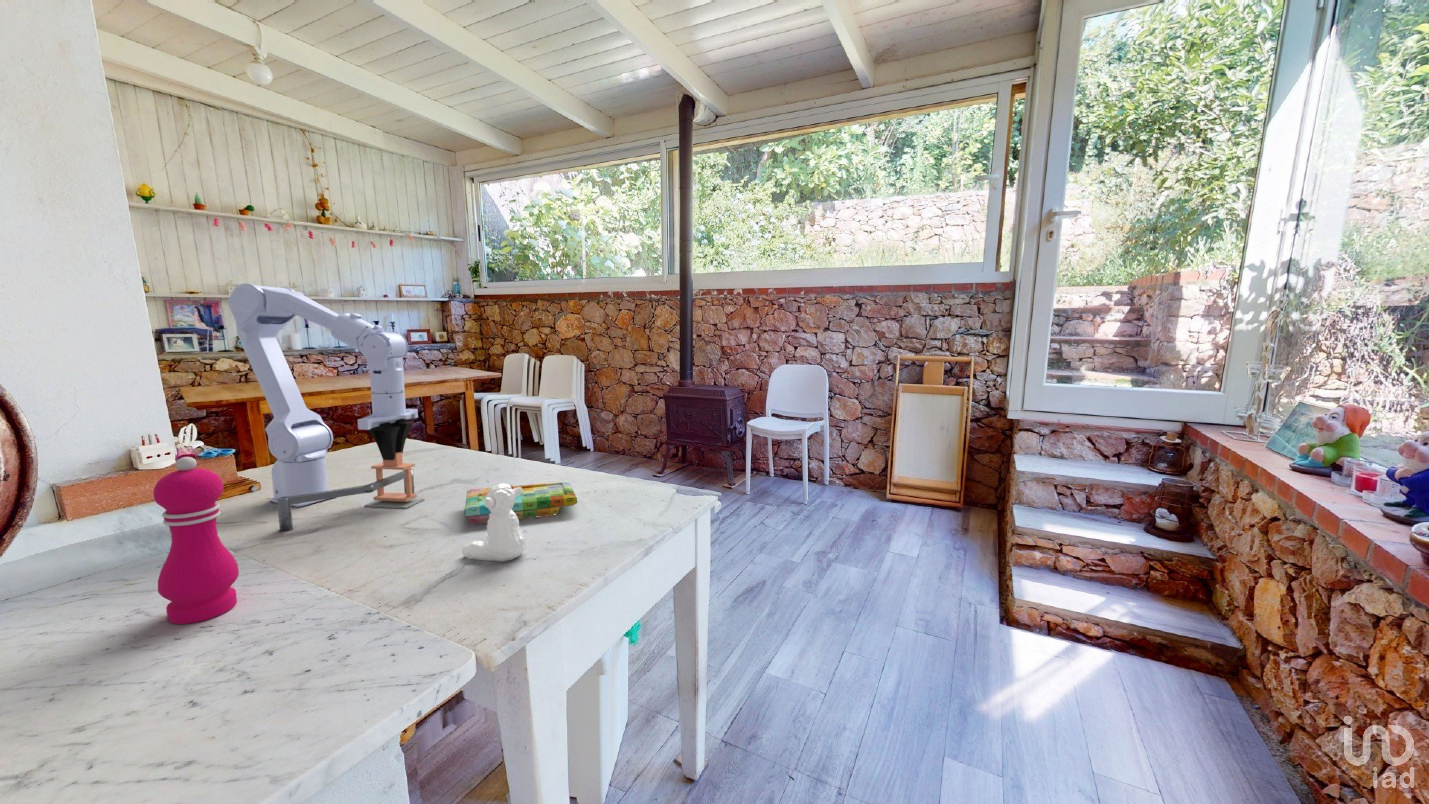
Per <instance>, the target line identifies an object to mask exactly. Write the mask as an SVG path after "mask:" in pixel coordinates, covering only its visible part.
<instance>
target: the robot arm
mask: <svg viewBox="0 0 1429 804" xmlns="http://www.w3.org/2000/svg"><path fill="white" fill-rule="evenodd" d="M226 303H227V304H228V307H229V309H230V311H231V314H232V316H233V319H234V321H235V325H236V334H237V337H238V339H239V341H240V344H241V346H242V348H243V350H244V353H245V355H246V357H247V360H248V362H249V365H250V366H251V369H252V370H253V373H254V375H255V377H256V379H257V382H258V384H259V387H260V388H261V391H262V393H263V395H264V396H263V397H264V398H265V400H266V402H267V404H268V408H269V409H270V411H271V413H272V416H273V418H272V420H271V421H270V422H269V423H268V425H267V426H265V429H264V430H265V433H266V435H267V439H268V440H267V444H268V450H269V452H270V453H271V455H272V456H273V457H274V458H276V461H275V462H274V464H273V465H272V467H271V479H272V489H273V490H272V491H273V493H272V494H273V497H271V498H269V499H268V502H271V501H272V502H273V503H276V504H277V498H280V497H289V496H296V495H303V494H309V493H316V492H323V491H329V488H328V486H329V485H328V475H327V464H326V463H327V460H326V455H328V449H330V448H331V446H332V445H333V441H334V435H333V434H334V433H333V431H332V430H331V428H330V427H329V426H328V425H327V424H325V422H324V421H323V419H322V416H321V415H320V414H318V413H317V412H314V411H313V410H311V409H308V408H307V405H306V404H305V401H304V399H303V396H302V394H301V391H300V389H299V387H298V385H297V383H296V381H295V378H294V376H293V373H292V371H291V369H290V367H289V364H288V362H287V360H286V357H285V355H284V353H283V351H282V348H281V346H280V343H279V341H278V339H277V336H278V334H279V333H280V331H282V330H283V329H285V327H286V326H287V325H289V323H291V321H293V320H294V319H295V318H296V317H299V318H302V319H304V320H306V321H309V322H312V323H314V324H316V325H318V326H320V327H323V328H325V329H328V330H329V331H330V335H331V337H332V338H334V339H335V340H337V341H339V342H341V343H343V344H345V345H346V346H349V347H351V348H354V349H355V350H358V351H360V352H361V354H362V356H363V358H365V360H366V362H367V368H368V369H369V379H370V381H369V382H370V393H371V394H370V395H371V397H370V398H371V410H372V413H371V414H370V415H367V416H365V417H362V418H359V419H357V430H363V431H364V430H365V431H367V432H368V433H369V435H370V436H371V437H372V438H373V440H374V441H375V443H376V445H377V448H378V450H379V452H380V456H381V458H382V461H383V460H394V458H395V452H402V454H403V453H404V447H405V444H406V441H407V438H408V435H409V432H410V431H411V429H412V428H413V421H409V420H411V419H417V418H419V414H418V413H419V411H418V408H407V407H406V392H405V376H404V375H405V373H404V358H405V357H406V356H407V354H408V353H409V343H408V340H407V339H406V337H405V336H404V335H403V334H401V333H400V332H399V331H394V330H392V331H391V330H390V331H387V332H386V331H385V330H384V327H383V326H382V325H380V324H372V323H371V322H368V321H366V320H364V319H362V317H363V315H361V314H359V313H355V312H354V313H352V312H351V313H347V312H344V313H341V314H338V313H337V312H335V311H333V310H331V309H329V308H328V307H326V306H324V305H322V304H320V303H318V302H316V301H314V300H313V299H311V298H310V297H307V296H305V295H304V293H302V292H301V291H298V290H294V289H292V288H290V287H288V286H287V287H284V286H281V287H277V286H269V285H257V284H253V283H248V282H245V283H240V284H238V285H236V286H235V287H234V288H233V290H232V292H231V293H230V296H229V297H228V299H227V301H226ZM406 420H408V421H406ZM325 500H327V499H324V500H317V501H311V502H304V503H298V504H292V505H291V507H297V508H301V507H303V506H306V505H307V506H308V505H311V504H315V503H318V502H322V501H325Z"/></svg>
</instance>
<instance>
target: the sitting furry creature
mask: <svg viewBox="0 0 1429 804" xmlns="http://www.w3.org/2000/svg"><path fill="white" fill-rule="evenodd" d="M511 486H512V485H510V484H508V483H506V482H505V483H502V482H501V483H499V484H496V485H493V486H492V487H490V488H491V491H490V492H489V493H488V494H487V495H486V501H485V507H487V508H489V510H490V512H491V513H490V514H489V520H488V523H487V524H486V529H487V531H486V532H487V533H486V534H487V536H486V542H485V541H483V540H478V541H476V540H472V541H471V542H470V543H467V544H465V545H463V547H462V550H461V552H462V553H461V554H462V555H463V557H465V558H466V559H469V560H476V561H477V560H478V561H489V562H492V561H493V562H501V563H503V562H509V561H511V560H512V561H513V560H515V559H516V558H519V557H520V555H522V554H523V552H524V550H525V546H526V538H525V536H524V535H523V533H524V532H523V531H522V530H521V527H520V519H518V518H517V516H516V514H515V513H514V512H513V511H512V509H511V508H513V505H514V504H515V497H517V496H520V495H521V492H522V488H521V487H518V488H514V489H512V488H511Z"/></svg>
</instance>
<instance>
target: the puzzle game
mask: <svg viewBox="0 0 1429 804" xmlns="http://www.w3.org/2000/svg"><path fill="white" fill-rule="evenodd" d="M510 486H511V488H512V489H514V488H518V487H521V488H522V492H521V495H520V496H517V497H515V504H514V505H513V508H511V509H512V511H513V512H514V513H515V514H516V516H517V518H518V520H523V519H522V518H526V519H530V518H529V517H534V518H537V517H536V516H543V517H547V516H546V515H552V516H555V515H554V514H556V515H558V514H559V513H560V508H564V507H571V506H572V507H573V506H575V505H577V503H578V498H577V495H576V493H575V492H574V490H573V488H572V485H571V483H570V482H569V481H561V482H559V481H558V482H547V483H545V482H544V483H537V484H536V483H535V484H523V485H510ZM491 488H492V487H480V488H471V489H469V490H467V492H466V499H465V506H464V517H466V519H468V521H469V522H470V523H471V525H479V524H488V520H489V514H490V513H491V512H490V510H489V508H487V507H485V501H486V495H487V494H488V493H489V492H490V491H491Z"/></svg>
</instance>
